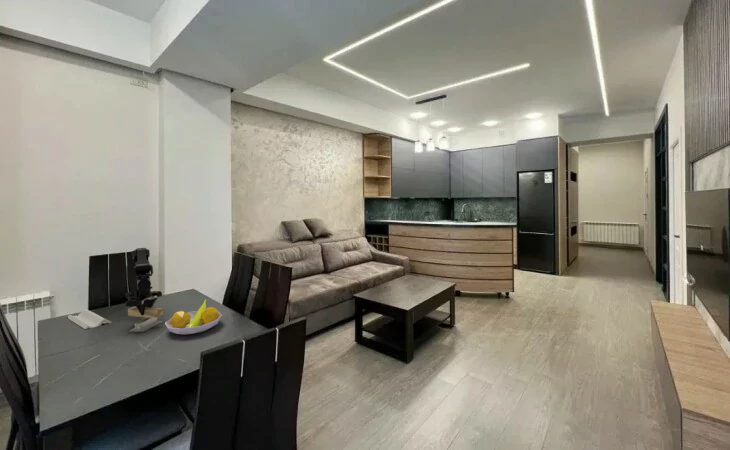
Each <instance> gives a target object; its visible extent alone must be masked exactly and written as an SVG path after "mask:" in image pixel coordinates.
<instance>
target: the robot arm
mask: <svg viewBox="0 0 730 450" xmlns="http://www.w3.org/2000/svg"><path fill="white" fill-rule="evenodd" d="M131 253H132V259H133V260H134V261H133V262H134V263H135V265H134V266H133V271H134V272H133V273H134V274H133V275H134V279H136V282H137V283H136V284H137V288H135V289H134V291H133V292H131V291H128V292H125V294H124V295H125V298H126V299H128V300H126V301H125V307H129V308H132V307H137V309H138V310H139V312H140V314H141V315H144V311H145V307H150V308H154V307H153V306H154V305H155V303H156V301H157V300H158V298H160V297H162V296H163V292H162V291H160V290H152V289H153V286H151V285H152V282H151V279H150V278H151V277H153V274H154V267H153V265H152V264H151V263H150V261H149V258H150V257H151V256H150V249H147V247H136V248H135V250H132V251H131ZM151 290H152V291H151Z"/></svg>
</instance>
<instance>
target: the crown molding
mask: <svg viewBox="0 0 730 450" xmlns="http://www.w3.org/2000/svg"><path fill="white" fill-rule="evenodd" d="M77 315H78V316H77ZM77 315H71V314H68V315H67V317H68V318H67V319H68V320H69V321H71V322H73V323H75V324H76V325H77V326H79V327H81V328H82V329H84V330H88V329H93V328H97V327H100V326H101V325H102V324H105V325H106V324H112V323H113V322H112V321H111V320H109V319H107V318H105V317H102V316H101V315H99V314H97V313H95V312H93V311H91V310H89V309H87V308H83V309H82V311H80V313H79V314H77Z"/></svg>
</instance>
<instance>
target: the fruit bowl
mask: <svg viewBox="0 0 730 450" xmlns="http://www.w3.org/2000/svg"><path fill="white" fill-rule="evenodd" d="M222 316H223V314H222V313H221V312H220V311H219V310H218V308H216V307H213V306H211V307H210V306H209V307H207V299H204V301H203V303H202V305H201V306H200V307H199V308H198V310H195V311H187V312H186V311H183V310H179V311H176V312H175V313H174V314H173V315H172V317H170V318H169V319H168V320H167V321H165V323H164V324H165V326H166V328H167V329H168V332H171V333H173V334H177V335H185V336H187V335H192V334H193V335H194V334H197V333H204V332H205V331H207V330H209V329H211V328H213V327H214V326H216V325H218V323H219V321H220V320H221V318H222Z"/></svg>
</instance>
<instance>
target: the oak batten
mask: <svg viewBox="0 0 730 450" xmlns="http://www.w3.org/2000/svg"><path fill="white" fill-rule="evenodd" d="M163 310H164V309H163V308H162V307H152V308H150V307H145V311H144V315H141V314H140V312H139V310H138V309H137V307H129V308H127V316H128V317H136V318H157V319H158V318H160V317H163V315H164V314H163V313H164V311H163Z"/></svg>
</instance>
